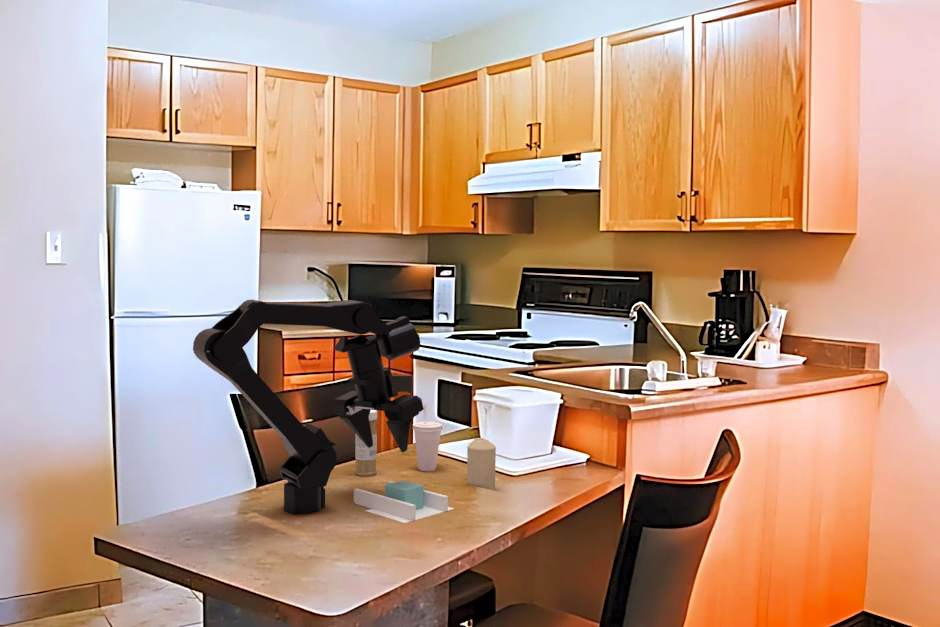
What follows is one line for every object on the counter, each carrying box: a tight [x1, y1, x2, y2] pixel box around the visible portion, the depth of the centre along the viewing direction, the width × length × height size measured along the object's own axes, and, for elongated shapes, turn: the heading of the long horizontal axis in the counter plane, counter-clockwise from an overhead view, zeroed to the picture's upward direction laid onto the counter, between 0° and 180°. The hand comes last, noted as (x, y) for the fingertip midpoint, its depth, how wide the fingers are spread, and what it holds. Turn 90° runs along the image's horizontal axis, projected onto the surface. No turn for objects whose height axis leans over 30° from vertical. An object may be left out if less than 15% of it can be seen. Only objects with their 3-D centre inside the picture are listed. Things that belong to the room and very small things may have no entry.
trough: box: [353, 480, 455, 524], centre depth 161 cm, size 12×15×4 cm
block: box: [384, 480, 425, 510], centre depth 160 cm, size 4×5×4 cm
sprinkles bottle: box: [354, 410, 378, 477], centre depth 190 cm, size 5×5×13 cm
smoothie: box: [412, 403, 443, 472], centre depth 194 cm, size 6×6×14 cm
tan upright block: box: [466, 437, 497, 492], centre depth 179 cm, size 6×6×10 cm
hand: (387, 449), depth 167 cm, fingers open, 9 cm apart
